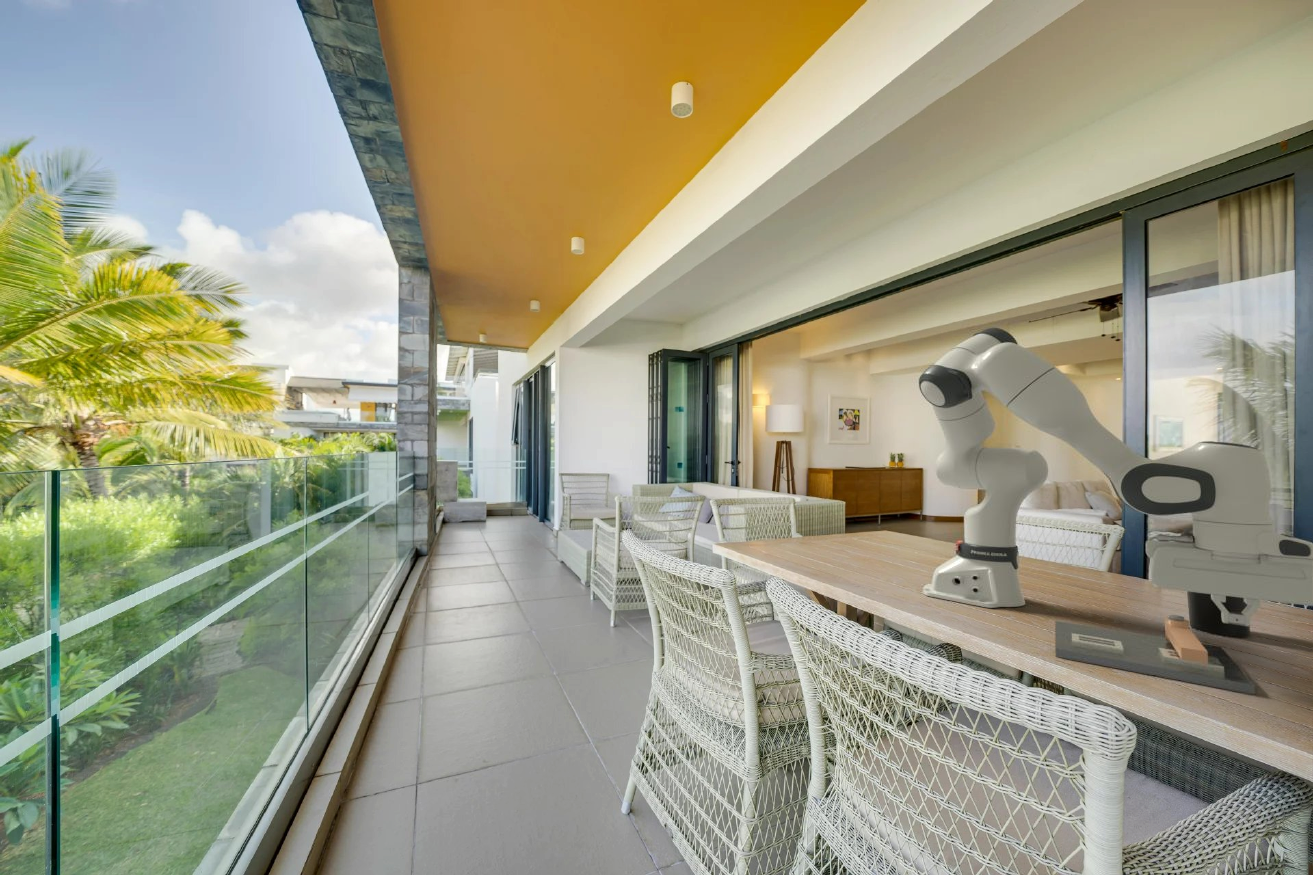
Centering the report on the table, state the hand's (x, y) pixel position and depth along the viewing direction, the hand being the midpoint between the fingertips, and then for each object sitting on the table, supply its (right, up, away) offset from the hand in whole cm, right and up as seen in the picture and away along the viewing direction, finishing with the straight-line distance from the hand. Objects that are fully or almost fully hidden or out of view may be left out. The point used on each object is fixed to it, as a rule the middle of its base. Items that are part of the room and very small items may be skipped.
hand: (1235, 624), depth 83 cm
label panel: (-7, -9, +10) cm, 15 cm away
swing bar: (-2, -7, +6) cm, 10 cm away
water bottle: (+23, -10, +23) cm, 34 cm away
